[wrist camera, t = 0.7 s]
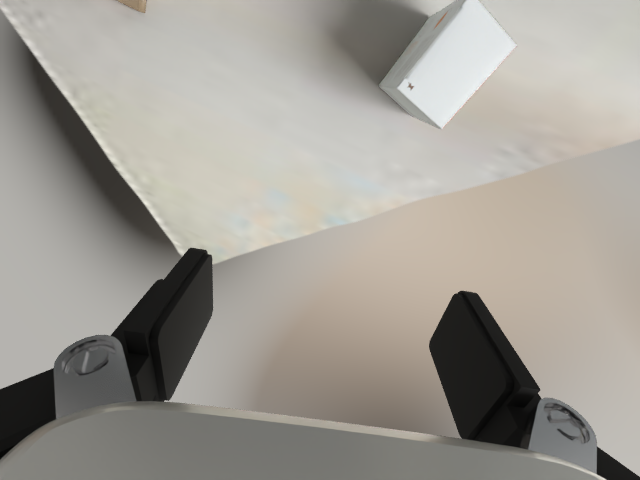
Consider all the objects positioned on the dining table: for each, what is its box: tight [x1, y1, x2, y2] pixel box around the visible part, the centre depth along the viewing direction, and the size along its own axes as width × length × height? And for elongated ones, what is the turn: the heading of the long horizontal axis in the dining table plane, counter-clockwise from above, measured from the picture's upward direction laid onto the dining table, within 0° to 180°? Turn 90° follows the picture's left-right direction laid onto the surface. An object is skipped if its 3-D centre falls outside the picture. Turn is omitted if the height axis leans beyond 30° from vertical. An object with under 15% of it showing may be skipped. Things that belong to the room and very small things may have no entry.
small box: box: [379, 0, 517, 129], centre depth 28 cm, size 8×6×10 cm
